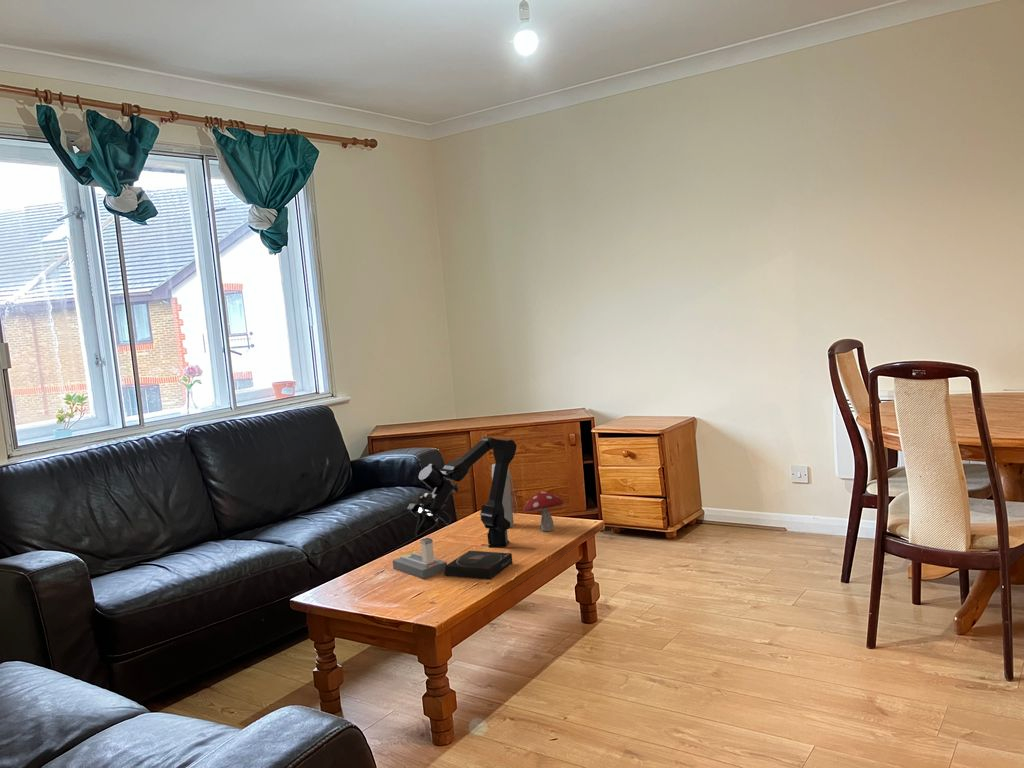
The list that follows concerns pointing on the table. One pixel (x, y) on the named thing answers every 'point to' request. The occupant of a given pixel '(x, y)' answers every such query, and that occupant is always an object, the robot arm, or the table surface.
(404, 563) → the breaker housing
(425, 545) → the breaker handle
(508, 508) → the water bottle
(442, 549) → the table surface
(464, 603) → the table surface
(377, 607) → the table surface
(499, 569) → the portable cd player
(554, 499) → the decorative mushroom
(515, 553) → the table surface
